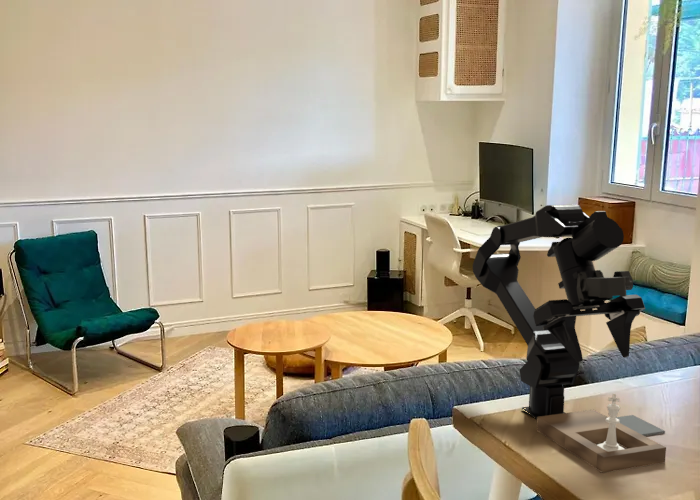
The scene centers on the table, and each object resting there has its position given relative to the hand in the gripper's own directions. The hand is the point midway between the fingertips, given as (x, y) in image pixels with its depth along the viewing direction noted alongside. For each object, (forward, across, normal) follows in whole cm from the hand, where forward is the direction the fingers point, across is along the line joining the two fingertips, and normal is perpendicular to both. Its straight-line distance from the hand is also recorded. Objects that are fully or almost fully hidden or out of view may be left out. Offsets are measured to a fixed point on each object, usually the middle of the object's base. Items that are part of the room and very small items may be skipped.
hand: (603, 359), depth 115 cm
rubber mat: (+10, +11, +12) cm, 19 cm away
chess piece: (+15, 0, +5) cm, 15 cm away
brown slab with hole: (+13, 0, +8) cm, 15 cm away
